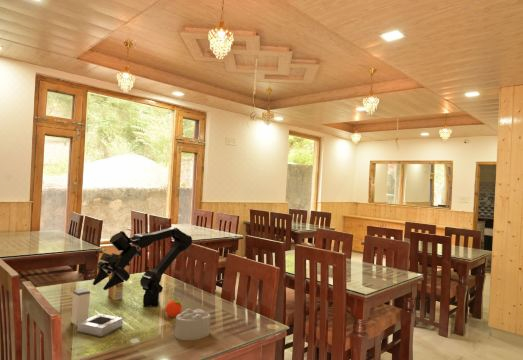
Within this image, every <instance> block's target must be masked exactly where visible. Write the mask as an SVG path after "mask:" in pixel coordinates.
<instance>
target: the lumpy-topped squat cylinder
mask: <svg viewBox="0 0 523 360" xmlns="http://www.w3.org/2000/svg"><path fill="white" fill-rule="evenodd" d="M211 318H212V317H211V314H210V313H208V312H207V311H205V310H203V309H202V308H196V309H192V308H190V307H189V308H186V309H184V310H183V311H181V313H180V314H179V315H177V316H176V317H175V327H174V329H175V330H174V338H175V339H177V340H180V341H181V340H183V341H194V340H199V339H203V338H205V337H208V336H210V334H211V333H210V332H211Z"/></svg>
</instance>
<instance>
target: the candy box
mask: <svg viewBox="0 0 523 360" xmlns="http://www.w3.org/2000/svg"><path fill="white" fill-rule="evenodd" d="M108 275H109V276H108V281H109V280H110V278H111V277H112V273H110V274H108ZM123 294H124V282H121V283H119V284H117V285H115V286H113V287H111V288H109V289H107V296H108V297H110V298H111V299H112V300H113V301H118V300H123V296H124V295H123Z"/></svg>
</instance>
